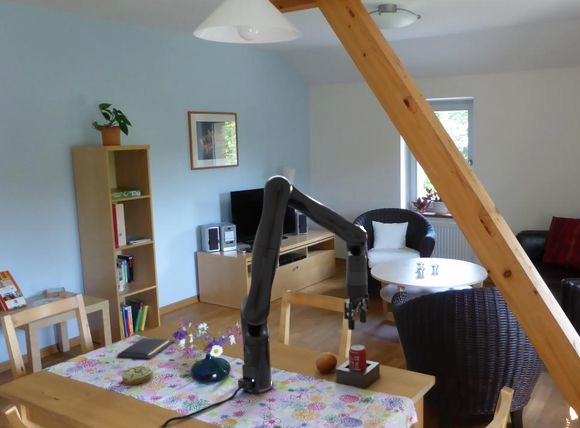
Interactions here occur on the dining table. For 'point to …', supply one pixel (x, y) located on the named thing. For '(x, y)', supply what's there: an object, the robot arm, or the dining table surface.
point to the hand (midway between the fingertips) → (357, 326)
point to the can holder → (358, 374)
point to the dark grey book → (145, 348)
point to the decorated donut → (137, 374)
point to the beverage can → (357, 358)
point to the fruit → (326, 362)
